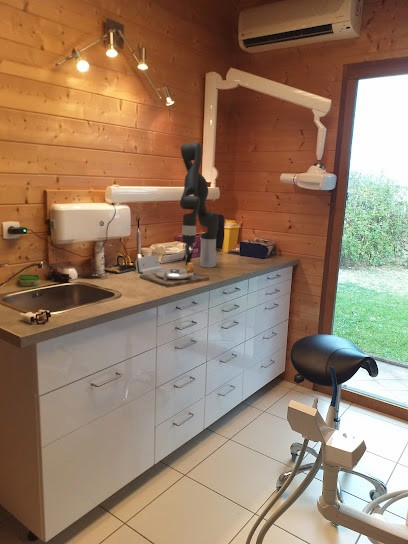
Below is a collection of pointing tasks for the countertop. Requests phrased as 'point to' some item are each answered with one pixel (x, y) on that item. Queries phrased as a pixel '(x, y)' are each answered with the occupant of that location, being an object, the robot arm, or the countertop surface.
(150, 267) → the hinge
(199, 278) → the base board
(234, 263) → the countertop surface
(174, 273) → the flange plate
